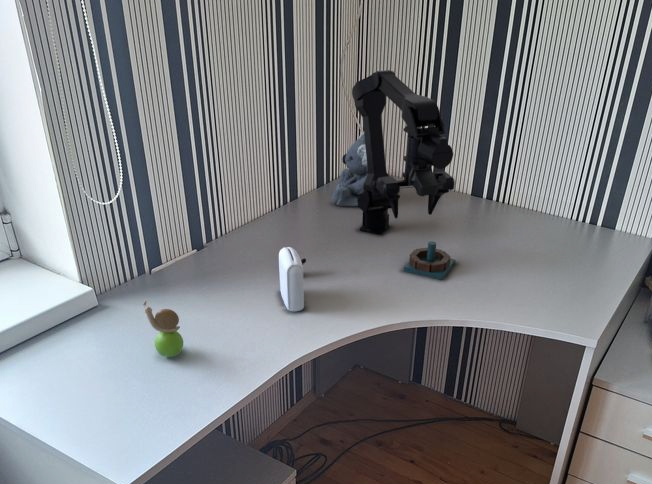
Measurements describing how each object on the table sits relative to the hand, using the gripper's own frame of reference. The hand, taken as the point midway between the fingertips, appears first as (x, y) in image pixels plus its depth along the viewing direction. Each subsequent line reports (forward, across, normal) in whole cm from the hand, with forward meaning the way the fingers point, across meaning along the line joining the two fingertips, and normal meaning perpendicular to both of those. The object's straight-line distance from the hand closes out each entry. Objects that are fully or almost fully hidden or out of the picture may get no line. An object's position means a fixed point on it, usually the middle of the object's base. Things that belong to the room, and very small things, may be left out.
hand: (412, 216), depth 172 cm
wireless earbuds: (+11, -31, -3) cm, 33 cm away
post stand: (+11, +2, -7) cm, 14 cm away
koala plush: (+12, +2, +41) cm, 43 cm away
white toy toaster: (+11, -35, -14) cm, 39 cm away
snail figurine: (+11, -64, -28) cm, 70 cm away
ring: (+10, +2, -7) cm, 12 cm away
